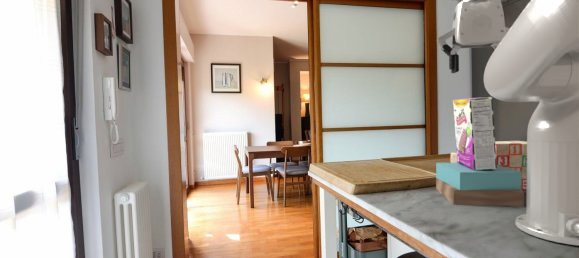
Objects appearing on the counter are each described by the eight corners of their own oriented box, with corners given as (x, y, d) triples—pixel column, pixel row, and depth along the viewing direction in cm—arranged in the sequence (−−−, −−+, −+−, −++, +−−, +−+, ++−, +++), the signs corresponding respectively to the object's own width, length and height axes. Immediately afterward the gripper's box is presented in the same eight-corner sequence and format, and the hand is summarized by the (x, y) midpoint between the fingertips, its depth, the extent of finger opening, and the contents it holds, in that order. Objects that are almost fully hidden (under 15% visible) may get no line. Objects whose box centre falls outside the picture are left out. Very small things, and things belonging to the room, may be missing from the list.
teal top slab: (521, 189, 68) (521, 171, 68) (459, 190, 69) (460, 172, 69) (487, 177, 81) (487, 162, 81) (436, 177, 82) (436, 162, 82)
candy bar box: (455, 163, 81) (451, 99, 80) (476, 162, 80) (472, 98, 79) (473, 171, 70) (469, 98, 69) (498, 170, 69) (494, 96, 68)
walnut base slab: (523, 209, 67) (523, 191, 67) (453, 207, 70) (453, 189, 69) (493, 193, 81) (493, 177, 81) (436, 191, 83) (436, 177, 83)
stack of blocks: (459, 190, 82) (459, 143, 82) (449, 184, 88) (449, 141, 88) (547, 190, 80) (548, 142, 79) (531, 184, 86) (532, 140, 85)
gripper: (441, -5, 71) (442, 71, 71) (527, -13, 67) (527, 67, 68) (432, 6, 78) (433, 75, 79) (509, 0, 75) (509, 71, 75)
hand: (477, 71), depth 73 cm, fingers open, 9 cm apart
